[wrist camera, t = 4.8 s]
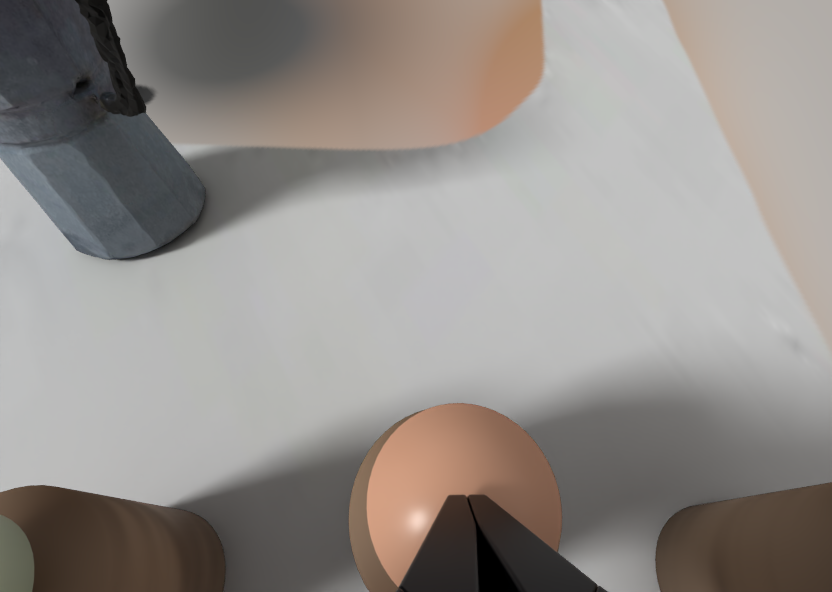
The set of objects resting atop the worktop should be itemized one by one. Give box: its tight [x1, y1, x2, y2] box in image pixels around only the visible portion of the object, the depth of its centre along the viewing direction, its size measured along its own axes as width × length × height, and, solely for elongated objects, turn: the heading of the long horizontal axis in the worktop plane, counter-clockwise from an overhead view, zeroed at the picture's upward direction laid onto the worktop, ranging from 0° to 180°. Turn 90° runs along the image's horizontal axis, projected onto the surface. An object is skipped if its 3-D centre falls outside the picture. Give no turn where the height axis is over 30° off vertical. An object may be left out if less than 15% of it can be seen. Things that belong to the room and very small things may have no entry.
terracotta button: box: [367, 403, 562, 587], centre depth 10 cm, size 4×4×2 cm
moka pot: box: [0, 0, 205, 260], centre depth 20 cm, size 10×15×20 cm, turn 74°
